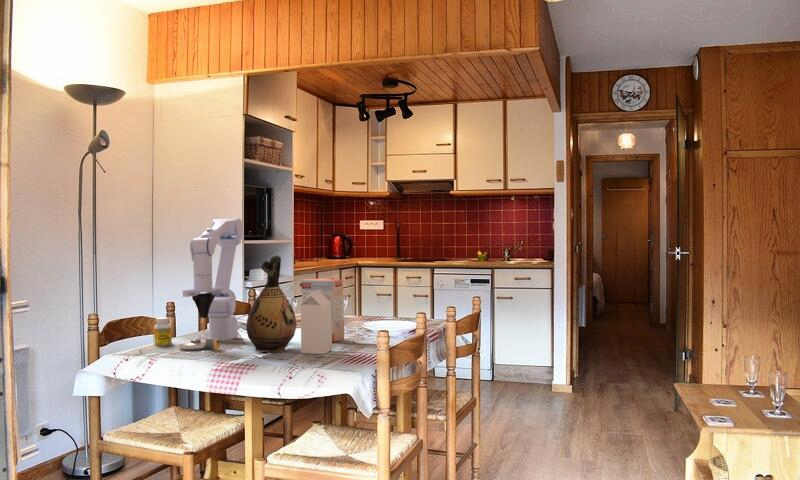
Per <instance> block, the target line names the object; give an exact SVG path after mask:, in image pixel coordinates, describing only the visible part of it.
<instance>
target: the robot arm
mask: <svg viewBox="0 0 800 480" xmlns="http://www.w3.org/2000/svg"><path fill="white" fill-rule="evenodd" d="M243 226H244V224H243V222H242V219H241V218H240V217H237V218H214V219H213V220H212V221H211V228H210V227H207V228H206V229H205V231H204V232H203V233H201V235H200V236H199V237H195V238H193V239H191V241H190V243H189V244H190V245H189V251H190V254H191V261H192V262H193V265H192V266H193V289H187V290H185V289H184V290H182V297H183V298H184V297H185V298H189V297H191V298H192V300H193V302H194V304H195V306H196V308H197V312H198V314H199V318H201V319H206V318H208V332H209V333H208V335H209V337H208V339H220V342H223V341H229V340H232V339H239V331H238V330H239V329H238V326H239V325H238V324H239V323H238V319H237V317H236V316H235V315H234V313H235V312H236V308H237V302H236V300H237V299H236V298H237V296H236V294H235V291H233V290H231V289H230V286H231V279H232V273H233V267H234V261H235V257H236V256H235V254H236V249H237V246H239V245H240V244H241V242H242V239H243V234H244V233H243V232H244V227H243ZM217 245H218V246H219V247H221V249H220V256H219V259H218V260H219V261H218V265H217V272H216V277H215V283H214V287H213V256H214V254H215V250H216V246H217Z"/></svg>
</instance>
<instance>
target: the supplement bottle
mask: <svg viewBox="0 0 800 480" xmlns="http://www.w3.org/2000/svg"><path fill="white" fill-rule="evenodd" d="M169 320H170V319H169V317H156V318H155V322H156V324H155V325H154V327H153V334H154V335H153V336H154V346H159V347H160V346H169V345H172V344H173V343H172V325H171V323H169V322H170V321H169Z"/></svg>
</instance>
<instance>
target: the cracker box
mask: <svg viewBox="0 0 800 480" xmlns="http://www.w3.org/2000/svg"><path fill="white" fill-rule="evenodd" d="M318 290H321V294H322V295H323V296H324V297H325V298H326V299H328V300H329V301H330V302H331V325H332V343H337V342H342V341H344V340H345V316H344V315H345V314H344V310H345V309H344V307H345V306H344V280H343V279H340V278H339V279H336V278H335V279H334V278H333V279H332V278H305V279H301V304H302V303H303V302H304V301H305V300H306V297H307V296H308V295H310V292H313V291H318Z"/></svg>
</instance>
